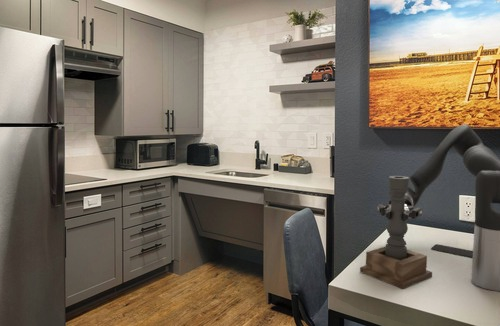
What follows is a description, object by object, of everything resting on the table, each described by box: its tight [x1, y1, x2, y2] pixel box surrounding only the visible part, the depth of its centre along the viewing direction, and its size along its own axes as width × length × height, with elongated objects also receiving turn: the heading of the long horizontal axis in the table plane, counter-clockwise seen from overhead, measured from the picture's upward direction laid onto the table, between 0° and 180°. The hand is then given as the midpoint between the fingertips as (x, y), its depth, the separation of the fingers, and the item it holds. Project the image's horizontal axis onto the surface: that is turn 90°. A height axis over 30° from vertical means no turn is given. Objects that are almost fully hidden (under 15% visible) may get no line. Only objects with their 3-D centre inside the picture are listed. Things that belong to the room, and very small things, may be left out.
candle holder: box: [385, 175, 410, 260], centre depth 114 cm, size 6×6×25 cm
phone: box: [430, 243, 473, 259], centre depth 136 cm, size 7×1×15 cm
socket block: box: [359, 245, 433, 290], centre depth 115 cm, size 15×15×6 cm
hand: (396, 216), depth 111 cm, fingers closed on candle holder, 4 cm apart
